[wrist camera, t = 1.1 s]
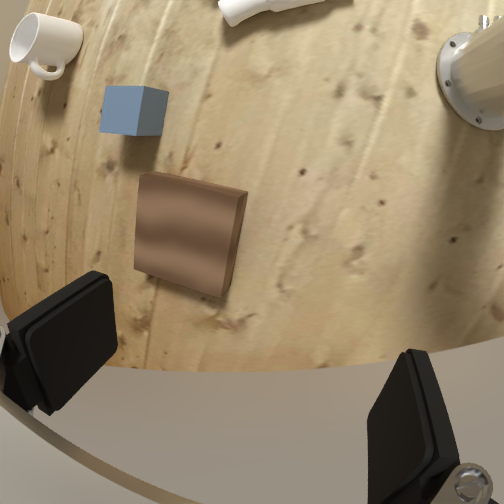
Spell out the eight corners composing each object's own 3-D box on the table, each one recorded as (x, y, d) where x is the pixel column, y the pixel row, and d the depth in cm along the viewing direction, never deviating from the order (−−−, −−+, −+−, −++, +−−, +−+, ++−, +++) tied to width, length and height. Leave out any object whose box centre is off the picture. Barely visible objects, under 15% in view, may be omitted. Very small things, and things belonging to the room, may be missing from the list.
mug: (89, 70, 37) (40, 64, 28) (57, 93, 40) (10, 92, 30) (83, 14, 34) (39, 2, 24) (52, 38, 36) (9, 32, 27)
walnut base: (156, 171, 40) (139, 175, 36) (248, 191, 38) (238, 197, 34) (148, 258, 45) (133, 268, 41) (230, 285, 43) (220, 298, 39)
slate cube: (133, 90, 37) (106, 86, 31) (169, 91, 36) (144, 86, 30) (126, 131, 39) (99, 132, 34) (161, 135, 38) (136, 135, 33)
